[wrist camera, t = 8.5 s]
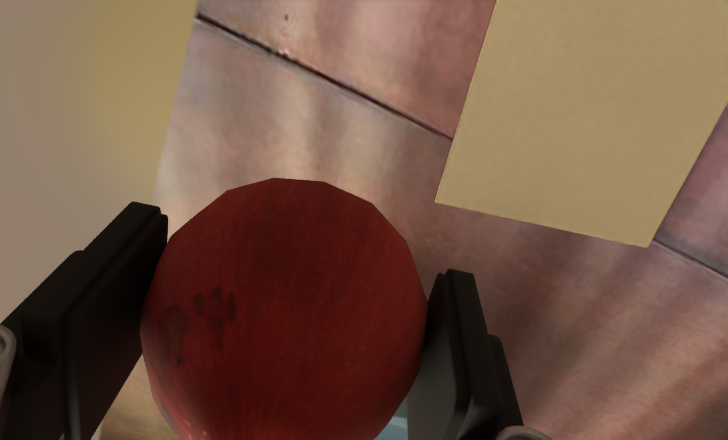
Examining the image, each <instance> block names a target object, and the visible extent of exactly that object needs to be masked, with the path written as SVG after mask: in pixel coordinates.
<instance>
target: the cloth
mask: <svg viewBox="0 0 728 440" xmlns="http://www.w3.org/2000/svg"><path fill="white" fill-rule="evenodd" d="M727 104H728V0H497V1H496V4H495V7H494V11H493V14H492V17H491V20H490V23H489V27H488V30H487V33H486V36H485V40H484V43H483V46H482V49H481V52H480V56H479V59H478V62H477V65H476V68H475V72H474V75H473V78H472V81H471V85H470V88H469V91H468V94H467V97H466V101H465V104H464V107H463V110H462V113H461V117H460V120H459V123H458V126H457V130H456V133H455V136H454V139H453V142H452V146H451V149H450V152H449V155H448V158H447V162H446V165H445V168H444V171H443V175H442V178H441V181H440V184H439V187H438V191H437V194H436V197H435V202H436V203H441V204H445V205H450V206H455V207H459V208H464V209H469V210H473V211H478V212H482V213H487V214H492V215H496V216H501V217H506V218H510V219H515V220H520V221H524V222H529V223H533V224H538V225H543V226H547V227H552V228H557V229H561V230H566V231H571V232H575V233H580V234H584V235H589V236H594V237H598V238H603V239H608V240H612V241H617V242H622V243H626V244H631V245H635V246H640V247H645V248H648V246H649V244H650V242H651V241H652V239H653V237H654V235H655V233H656V232H657V230H658V228H659V226H660V224H661V223H662V221H663V219H664V217H665V215H666V214H667V212H668V210H669V208H670V206H671V205H672V203H673V201H674V199H675V197H676V196H677V194H678V192H679V190H680V188H681V187H682V185H683V183H684V181H685V179H686V178H687V176H688V174H689V172H690V170H691V168H692V167H693V165H694V163H695V161H696V159H697V158H698V156H699V154H700V152H701V150H702V149H703V147H704V145H705V143H706V141H707V140H708V138H709V136H710V134H711V132H712V131H713V129H714V127H715V125H716V123H717V122H718V120H719V118H720V116H721V114H722V113H723V111H724V109H725V107H726V105H727Z"/></svg>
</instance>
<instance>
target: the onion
mask: <svg viewBox="0 0 728 440" xmlns="http://www.w3.org/2000/svg"><path fill="white" fill-rule="evenodd" d="M427 313H428V302H427V299H426V296H425V293H424V290H423V287H422V284H421V281H420V278H419V275H418V272H417V269H416V266H415V263H414V260H413V257H412V254H411V252H410V249H409V247H408V244H407V242H406V240H405V239H404V238H403V237H402V236H401V235H400V233H399V232H398V231H397V230H396V229H395V228H394V227H393V226H392V225H391V224H390V222H389V221H388V220H387V219H386V218H385V217H384V216H383V215H382V214H381V212H380V211H379V210H378V209H377V208H376V207H375V206H374V205H373V204H372V203H371V202H368V201H366V200H364V199H362V198H359V197H357V196H355V195H353V194H351V193H348V192H346V191H344V190H342V189H339V188H337V187H335V186H333V185H330V184H328V183H326V182H322V181H309V180H296V179H283V178H271V179H268V180H264V181H260V182H256V183H253V184H249V185H245V186H242V187H238V188H234V189H230V190H227V191H226V192H225V193H223V194H222V195H221V196H220V197H218V198H217V199H216V200H214V201H213V202H212V203H211V204H209V205H208V206H207V207H206V208H204V209H203V210H202V211H200V212H199V213H198V214H197V215H195V216H194V217H193V218H192V219H190V220H189V221H188V222H187V223H186V224H185V225H183V226H182V227H181V228H180V229H179V230H178V231H177V232H175V233H174V234H173V235H172V236H171V237H170V239H169V241H168V243H167V245H166V247H165V249H164V252H163V254H162V256H161V258H160V260H159V262H158V265H157V267H156V270H155V273H154V275H153V278H152V281H151V283H150V286H149V288H148V291H147V294H146V296H145V299H144V301H143V304H142V307H141V319H140V339H141V345H142V351H143V357H144V361H145V365H146V370H147V374H148V378H149V383H150V387H151V391H152V395H153V399H154V401H155V403H156V405H157V407H158V409H159V411H160V412H161V414H162V416H163V418H164V419H165V420H166V422H167V423H168V425H169V426H170V427H171V429H172V430H173V431H174V432H175V433H176V434H177V435H178V436H179V437H180V438H181V439H182V440H374V439H375V438H376V437H377V436H378V435H379V434H380V433H381V432H382V430H383V429H384V428H385V427H386V426H387V424H388V423H389V422H390V420H391V419H392V417H393V416H394V414H395V413H396V411H397V409H398V408H399V406H400V405H401V403H402V402H403V400H404V399H405V397H406V396H407V394H408V392H409V391H410V389H411V387H412V385H413V383H414V381H415V379H416V377H417V375H418V374H419V372H420V366H421V360H422V354H423V347H424V339H425V330H426V321H427Z"/></svg>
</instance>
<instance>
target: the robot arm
mask: <svg viewBox="0 0 728 440" xmlns="http://www.w3.org/2000/svg"><path fill="white" fill-rule="evenodd" d="M167 235H168V217H167V215H164V214H161V210H160V208H159V207H157V206H152V205H148V204H143V203H138V202H131V203H130V204H129V205H128V206H127V207H126V208H125V209H124V210H123V211H122V212H121V213H120V214H119V215H118V216H117V217H116V218H115V219H114V220H113V221H112V222H111V223H110V224H109V225H108V226H107V227H106V228H105V229H104V230H103V231H102V232H101V233H100V234H99V235H98V236H97V237H96V238H95V239H94V240H93V241H92V242H91V243H90V244H89V245H88V246H87V247H86V248H85V249H84V250H83V251H82V250H79V251H75V252H74V253H72V254H71V255H70V256H69V257H68V258H67V259H66V260H65V261H64V262H63V263H62V264H61V265H60V266H58V267H57V268H56V269H55V270H54V271H53V272H52V273H51V274H50V275H49V276H48V277H47V278H46V279H45V280H44V281H43V282H42V283H41V284H40V285H39V286H38V287H37V288H36V289H35V290H34V291H33V292H32V293H31V294H30V295H29V296H28V297H27V298H26V299H25V300H24V301H23V302H22V303H21V304H20V305H19V306H18V307H17V308H16V309H15V310H14V311H13V312H12V313H11V314H10V315H9V316H8V317H7V318H6V319H5V320H4V321H3V322H2V323H1V324H0V440H91V438H92V436H93V435H94V433H95V431H96V429H97V428H98V426H99V425H100V423H101V421H102V420H103V418H104V416H105V415H106V413H107V411H108V410H109V408H110V406H111V405H112V403H113V401H114V400H115V398H116V396H117V395H118V393H119V391H120V390H121V388H122V386H123V385H124V383H125V381H126V380H127V378H128V376H129V375H130V373H131V371H132V370H133V368H134V366H135V365H136V363H137V361H138V360H139V358H140V356H141V355H142V353H143V351H142V345H141V339H140V319H141V307H142V304H143V301H144V299H145V296H146V294H147V291H148V288H149V286H150V283H151V281H152V278H153V275H154V273H155V270H156V267H157V265H158V262H159V260H160V258H161V256H162V254H163V252H164V249H165V247H166V245H167ZM406 402H407V436H408V440H553V439H551V438H550V437H548V436H547V435H545V434H543V433H542V432H540V431H538V430H535V429H532V428H529V427H525V426H524V424H523V420H522V417H521V413H520V409H519V405H518V402H517V398H516V394H515V391H514V387H513V383H512V379H511V376H510V372H509V368H508V365H507V361H506V357H505V353H504V350H503V346H502V343H501V340H500V338H499V337H498V336H495V335H490V334H488V332H487V328H486V324H485V320H484V315H483V311H482V307H481V303H480V299H479V295H478V290H477V286H476V282H475V278H474V275H473V274H472V273H468V272H463V271H458V270H454V269H448V270H447V272H446V274H442V273H438V275H437V277H436V279H435V282H434V285H433V288H432V291H431V294H430V297H429V300H428V313H427V321H426V330H425V339H424V347H423V354H422V360H421V366H420V372H419V374H418V375H417V377H416V379H415V381H414V383H413V385H412V387H411V389H410V391H409V392H408V394H407V396H406Z"/></svg>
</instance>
